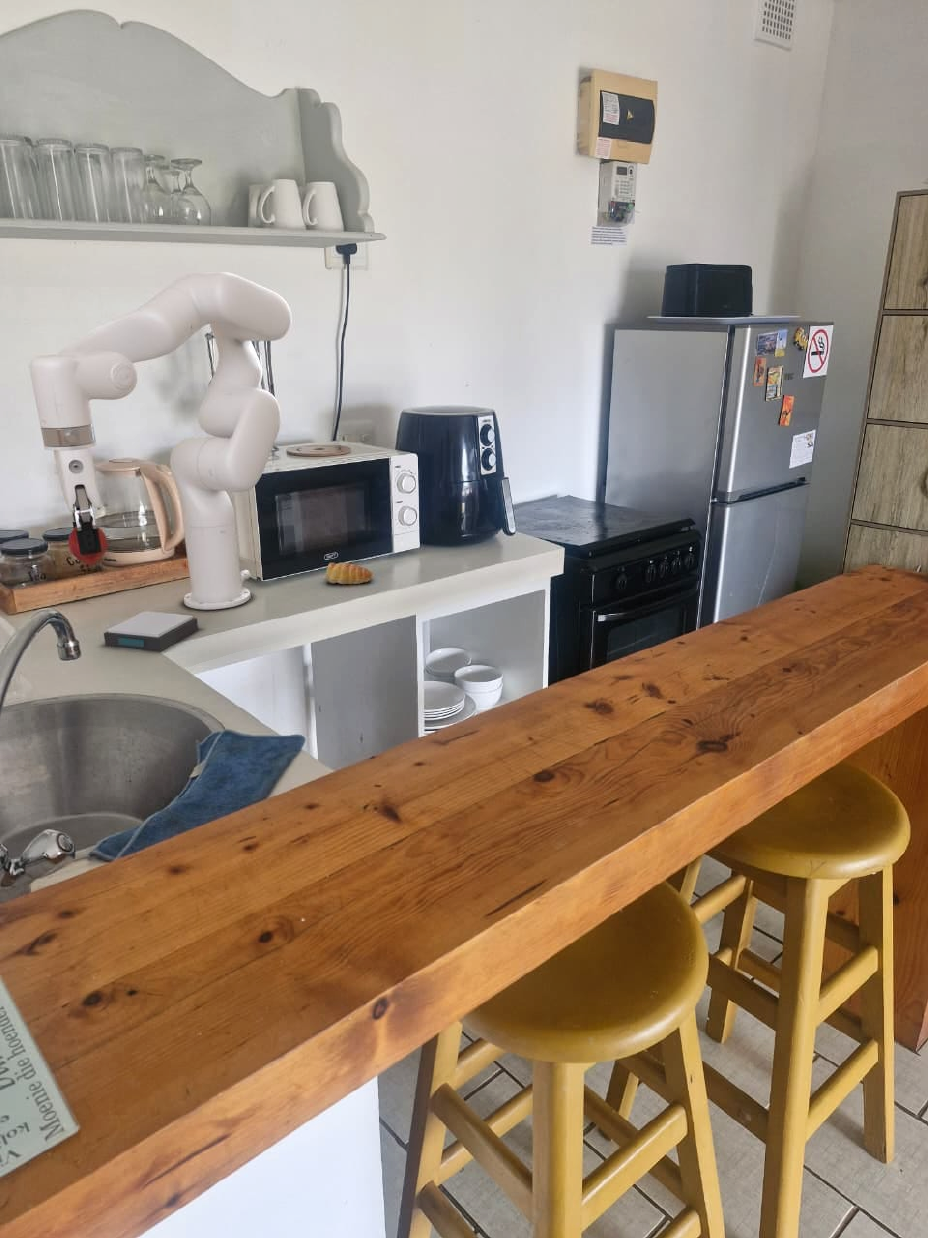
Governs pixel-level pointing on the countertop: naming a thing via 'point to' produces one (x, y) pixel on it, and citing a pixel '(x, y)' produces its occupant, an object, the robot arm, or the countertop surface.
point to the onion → (88, 558)
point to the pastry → (347, 573)
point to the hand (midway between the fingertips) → (88, 547)
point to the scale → (151, 631)
